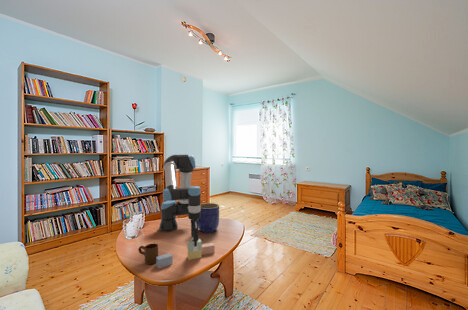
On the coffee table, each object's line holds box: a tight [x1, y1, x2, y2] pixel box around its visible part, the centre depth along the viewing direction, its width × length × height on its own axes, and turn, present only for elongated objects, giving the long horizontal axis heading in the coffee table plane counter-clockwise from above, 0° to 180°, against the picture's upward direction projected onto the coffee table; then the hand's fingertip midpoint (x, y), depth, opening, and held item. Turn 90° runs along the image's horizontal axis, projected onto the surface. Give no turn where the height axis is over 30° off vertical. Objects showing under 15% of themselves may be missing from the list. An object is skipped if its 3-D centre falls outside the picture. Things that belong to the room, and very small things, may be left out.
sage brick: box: [186, 238, 203, 252], centre depth 130 cm, size 8×4×5 cm, turn 113°
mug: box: [138, 243, 159, 266], centre depth 125 cm, size 12×8×9 cm, turn 83°
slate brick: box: [155, 252, 173, 269], centre depth 122 cm, size 8×4×5 cm, turn 123°
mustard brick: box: [187, 250, 202, 261], centre depth 131 cm, size 8×4×5 cm, turn 108°
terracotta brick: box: [201, 242, 216, 256], centre depth 137 cm, size 8×4×5 cm, turn 110°
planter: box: [197, 202, 220, 234], centre depth 175 cm, size 18×18×21 cm
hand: (194, 249), depth 131 cm, fingers closed on sage brick, 4 cm apart
